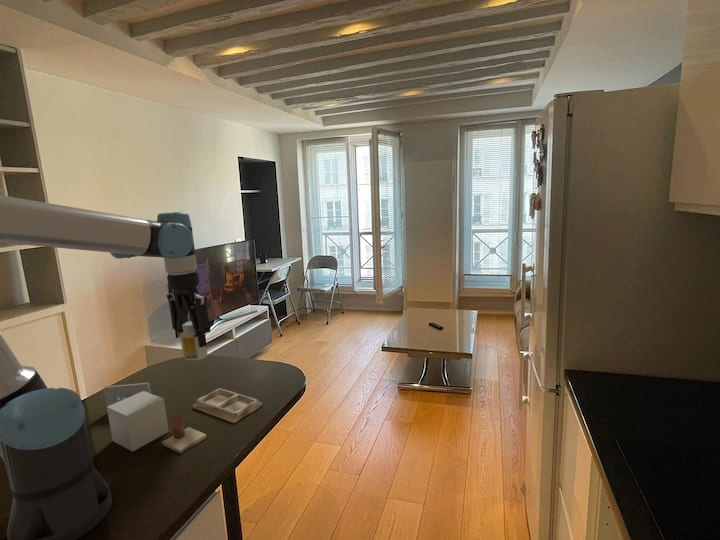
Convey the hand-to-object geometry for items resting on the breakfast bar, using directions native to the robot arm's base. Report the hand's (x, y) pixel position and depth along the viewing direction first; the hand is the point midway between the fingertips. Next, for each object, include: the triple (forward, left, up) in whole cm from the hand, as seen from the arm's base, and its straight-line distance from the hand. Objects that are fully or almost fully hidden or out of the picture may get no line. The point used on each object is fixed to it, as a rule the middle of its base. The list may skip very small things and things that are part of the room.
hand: (195, 355), depth 107 cm
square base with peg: (-12, -10, -16) cm, 22 cm away
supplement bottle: (0, 0, -1) cm, 1 cm away
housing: (-16, +2, -16) cm, 22 cm away
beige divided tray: (+4, -6, -16) cm, 17 cm away
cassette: (-10, +18, -16) cm, 26 cm away
